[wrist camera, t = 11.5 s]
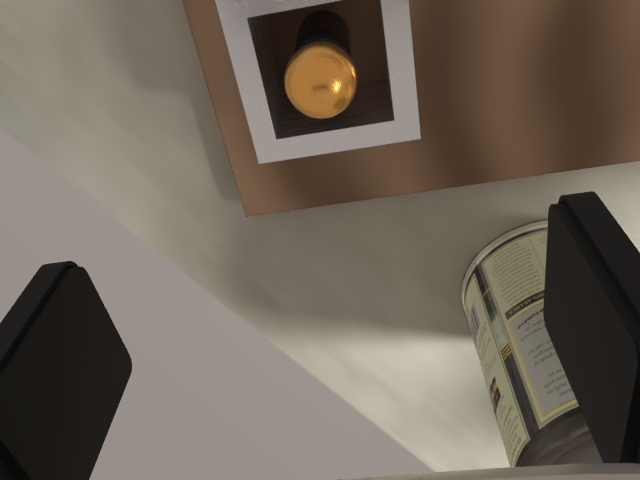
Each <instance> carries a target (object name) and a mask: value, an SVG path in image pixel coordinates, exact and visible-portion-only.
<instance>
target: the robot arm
mask: <svg viewBox="0 0 640 480" xmlns="http://www.w3.org/2000/svg"><path fill="white" fill-rule="evenodd" d="M543 316H544V322H545V326H546V329H547V332H548V334H549V337H550V339H551V341H552V344H553V346H554V348H555V351H556V353H557V355H558V358H559V360H560V363H561V365H562V367H563V370H564V372H565V374H566V377H567V379H568V381H569V384H570V386H571V388H572V391H573V393H574V395H575V398H576V400H577V402H578V405H579V407H580V409H581V412H582V414H583V417H584V419H585V421H586V424H587V426H588V428H589V431H590V433H591V435H592V438H593V440H594V442H595V445H596V447H597V449H598V452H599V454H600V456H601V459H602V461H603V463H596V464H563V465H546V466H528V467H511V468H493V469H476V470H462V471H448V472H435V473H422V474H407V475H393V476H380V477H368V478H367V477H366V478H353V479H338V480H640V253H639V251H638V250H637V248H636V247H635V246H634V244H633V243H632V242H631V240H630V239H629V238H628V236H627V235H626V234H625V232H624V231H623V229H622V228H621V227H620V225H619V224H618V223H617V221H616V220H615V219H614V217H613V216H612V214H611V213H610V212H609V210H608V209H607V208H606V206H605V205H604V204H603V202H602V201H601V200H600V198H599V197H598V195H597V194H596V193H595V192H584V193H577V194H569V195H562V196H561V197H560V199H559V202H558V204H552V205H550V207H549V213H548V231H547V250H546V269H545V287H544V306H543ZM131 371H132V362H131V358H130V355H129V353H128V351H127V349H126V347H125V345H124V343H123V342H122V339H121V337H120V335H119V333H118V331H117V330H116V328H115V326H114V324H113V322H112V320H111V318H110V316H109V314H108V312H107V310H106V308H105V306H104V304H103V302H102V300H101V298H100V296H99V294H98V292H97V290H96V289H95V287H94V285H93V283H92V281H91V279H90V277H89V275H88V273H87V271H86V270H85V269H84V268H83V267H78V265H77V264H76V263H74V262H72V261H66V262H58V263H51V264H45V265H43V266H41V267H40V268H39V270H38V271H37V272H36V274H35V275H34V277H33V278H32V280H31V281H30V282H29V284H28V285H27V286H26V288H25V289H24V291H23V292H22V294H21V295H20V296H19V298H18V299H17V301H16V302H15V304H14V305H13V306H12V308H11V309H10V310H9V312H8V313H7V315H6V316H5V318H4V319H3V320H2V322H1V323H0V480H89V478H90V476H91V473H92V471H93V468H94V466H95V463H96V461H97V458H98V455H99V453H100V451H101V448H102V446H103V443H104V440H105V438H106V435H107V433H108V430H109V428H110V425H111V422H112V420H113V418H114V415H115V413H116V410H117V407H118V405H119V403H120V400H121V397H122V395H123V392H124V390H125V387H126V385H127V382H128V380H129V377H130V375H131Z"/></svg>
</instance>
